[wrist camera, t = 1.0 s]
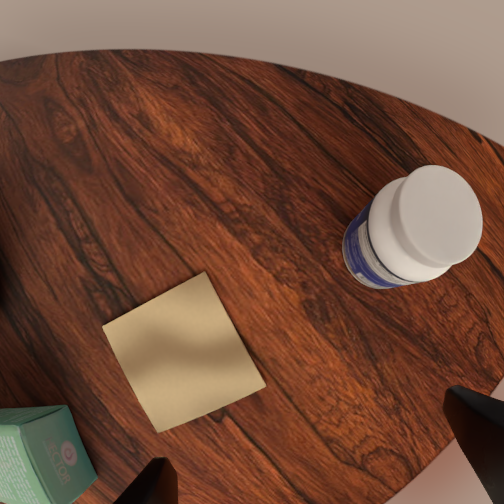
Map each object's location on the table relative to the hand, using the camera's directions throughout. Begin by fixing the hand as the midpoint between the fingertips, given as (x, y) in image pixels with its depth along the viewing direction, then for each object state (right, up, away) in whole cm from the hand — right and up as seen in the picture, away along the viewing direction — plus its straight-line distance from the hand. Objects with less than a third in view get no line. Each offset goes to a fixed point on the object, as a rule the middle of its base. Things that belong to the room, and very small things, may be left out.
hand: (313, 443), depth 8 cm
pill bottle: (+7, +6, +14) cm, 17 cm away
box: (-22, -12, +13) cm, 28 cm away
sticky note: (-7, -2, +13) cm, 15 cm away
